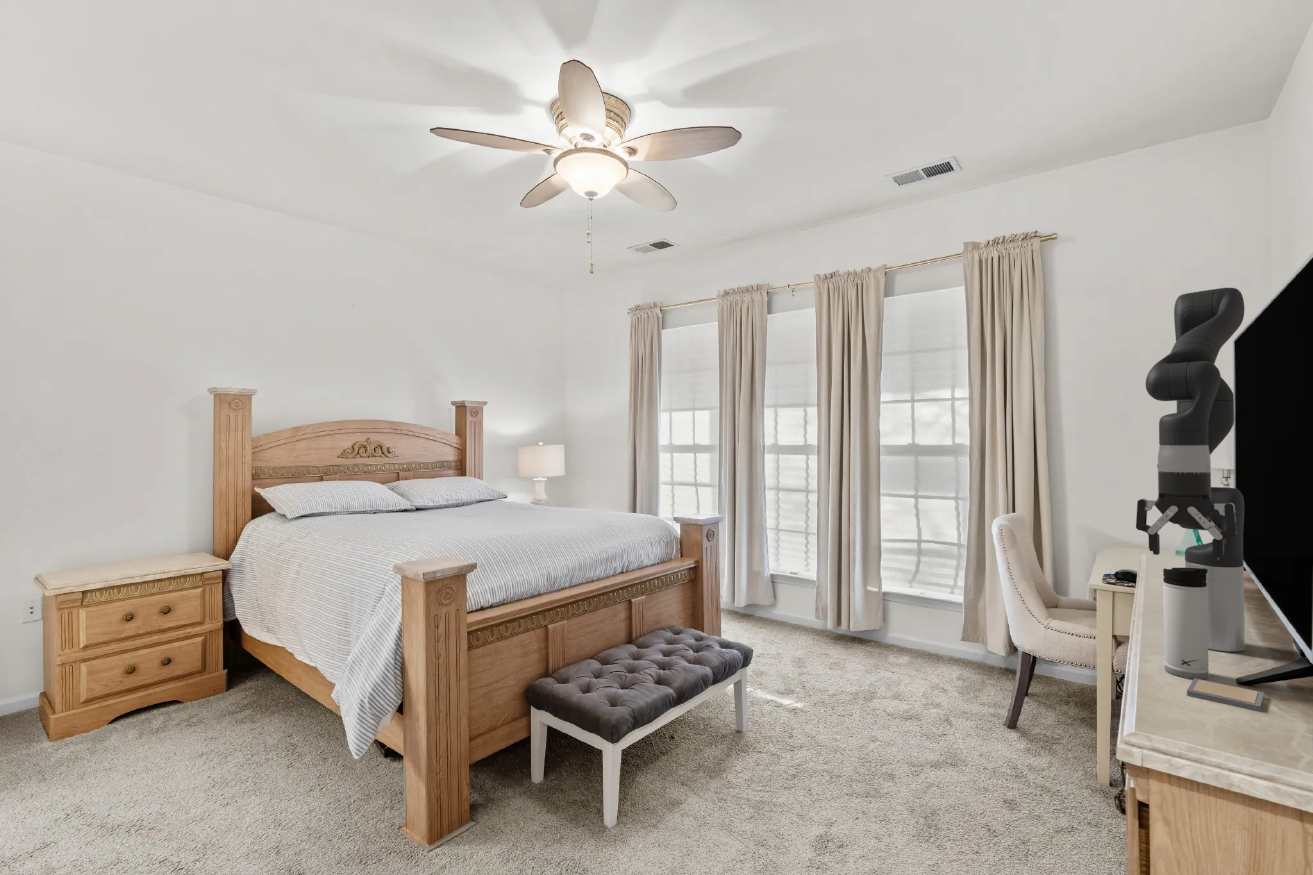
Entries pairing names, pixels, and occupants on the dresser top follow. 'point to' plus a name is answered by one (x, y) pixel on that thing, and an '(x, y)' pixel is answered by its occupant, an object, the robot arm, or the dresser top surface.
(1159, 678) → the dresser top surface
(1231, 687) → the slate coaster
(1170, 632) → the travel mug
